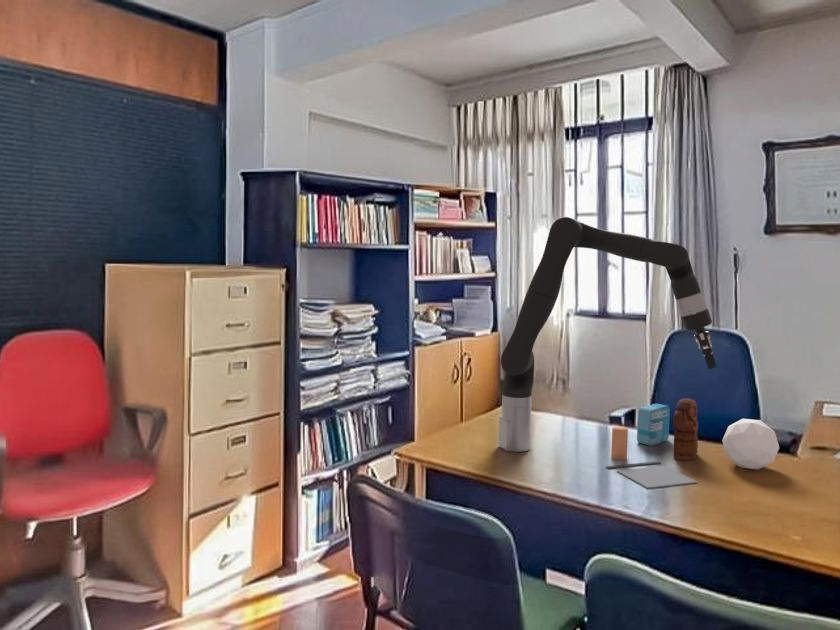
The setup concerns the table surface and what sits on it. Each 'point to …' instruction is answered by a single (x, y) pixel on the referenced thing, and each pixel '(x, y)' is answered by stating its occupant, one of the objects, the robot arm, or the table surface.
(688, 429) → the wooden figurine
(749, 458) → the geometric sphere
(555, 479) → the table surface
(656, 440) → the data package
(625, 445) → the throwing cylinder
